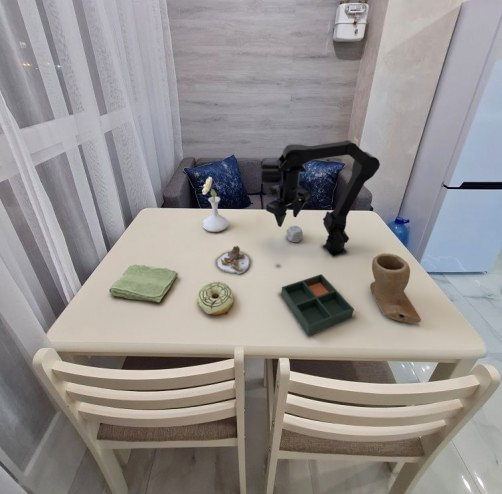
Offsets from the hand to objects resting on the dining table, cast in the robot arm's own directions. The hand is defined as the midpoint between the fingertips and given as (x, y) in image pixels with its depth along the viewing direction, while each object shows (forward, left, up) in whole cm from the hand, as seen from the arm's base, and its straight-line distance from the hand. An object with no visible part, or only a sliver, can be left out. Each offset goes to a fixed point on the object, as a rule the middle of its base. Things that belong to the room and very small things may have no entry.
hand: (287, 221), depth 96 cm
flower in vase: (+21, -25, -13) cm, 35 cm away
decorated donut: (+32, +14, -13) cm, 37 cm away
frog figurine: (+21, -1, -13) cm, 25 cm away
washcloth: (+51, -1, -13) cm, 53 cm away
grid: (+5, +26, -13) cm, 30 cm away
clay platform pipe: (-16, +34, -13) cm, 40 cm away
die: (-7, -5, -13) cm, 16 cm away
